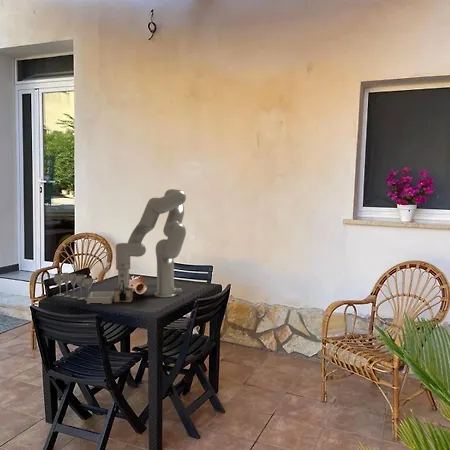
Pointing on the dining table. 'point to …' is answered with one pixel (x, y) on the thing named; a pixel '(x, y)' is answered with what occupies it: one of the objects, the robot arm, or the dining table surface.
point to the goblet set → (73, 282)
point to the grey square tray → (100, 297)
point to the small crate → (128, 295)
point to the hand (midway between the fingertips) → (123, 298)
